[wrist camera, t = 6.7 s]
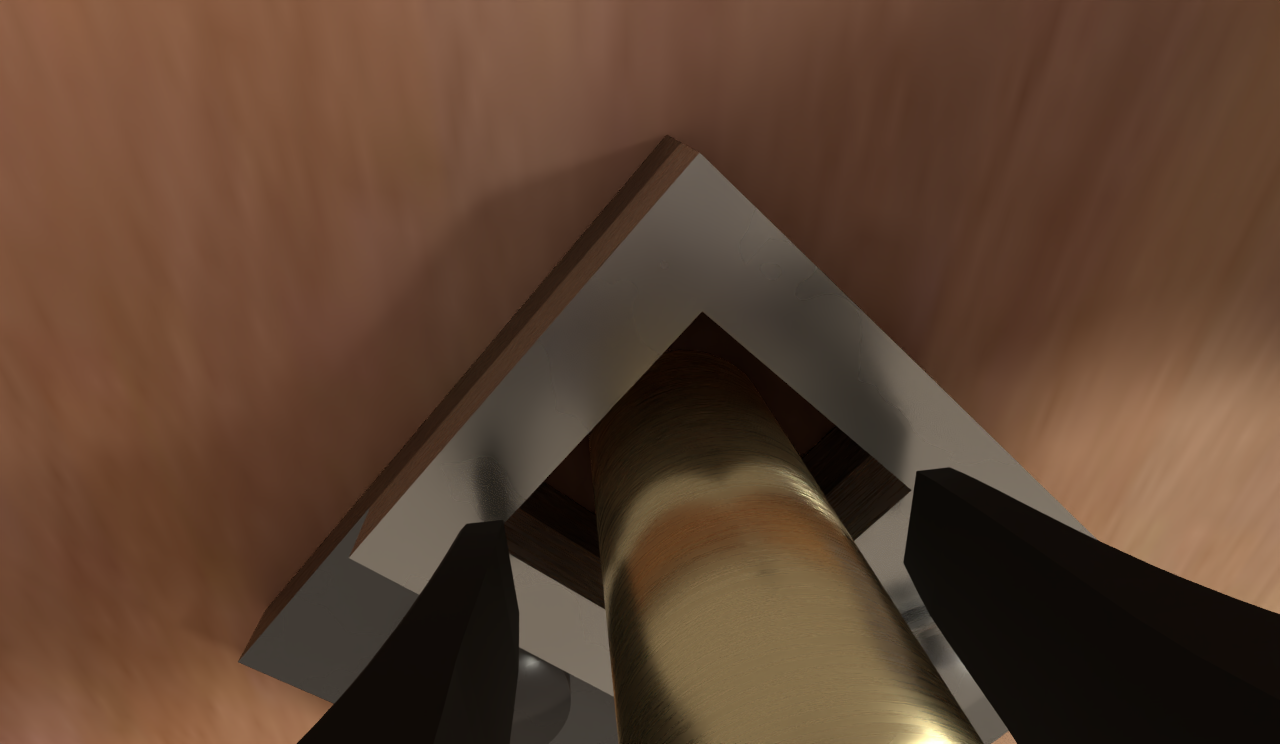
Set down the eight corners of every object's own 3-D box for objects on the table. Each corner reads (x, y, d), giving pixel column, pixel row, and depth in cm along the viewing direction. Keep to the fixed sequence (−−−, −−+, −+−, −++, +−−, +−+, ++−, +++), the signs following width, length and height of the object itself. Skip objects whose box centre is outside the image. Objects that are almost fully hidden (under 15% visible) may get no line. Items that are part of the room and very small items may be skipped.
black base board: (667, 134, 12) (690, 147, 10) (947, 404, 15) (1008, 456, 13) (265, 610, 15) (221, 693, 13) (565, 750, 19) (566, 835, 17)
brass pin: (799, 419, 15) (1089, 827, 7) (680, 533, 16) (813, 1010, 8) (673, 313, 14) (852, 672, 6) (551, 445, 15) (550, 917, 6)
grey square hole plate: (387, 465, 14) (335, 590, 11) (667, 134, 12) (711, 159, 9) (807, 714, 19) (862, 854, 16) (1057, 510, 17) (1184, 620, 14)
